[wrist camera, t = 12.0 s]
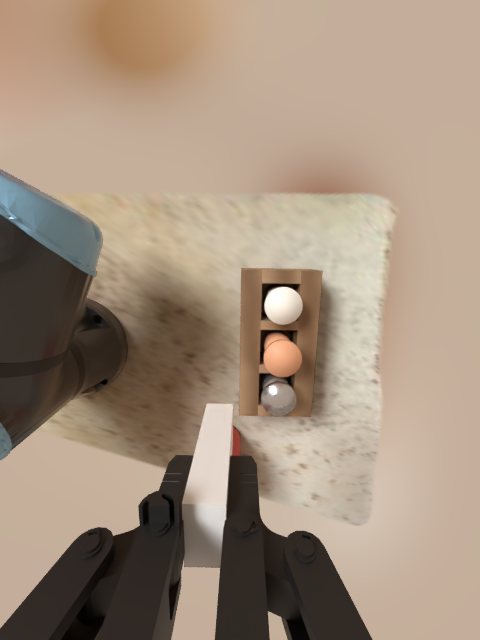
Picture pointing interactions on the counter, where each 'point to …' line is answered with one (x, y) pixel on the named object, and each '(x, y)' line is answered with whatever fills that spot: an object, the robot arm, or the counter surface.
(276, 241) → the counter surface
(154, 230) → the counter surface
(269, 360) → the peach round knob
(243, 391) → the button block
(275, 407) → the plunger grey
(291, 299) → the plunger white
